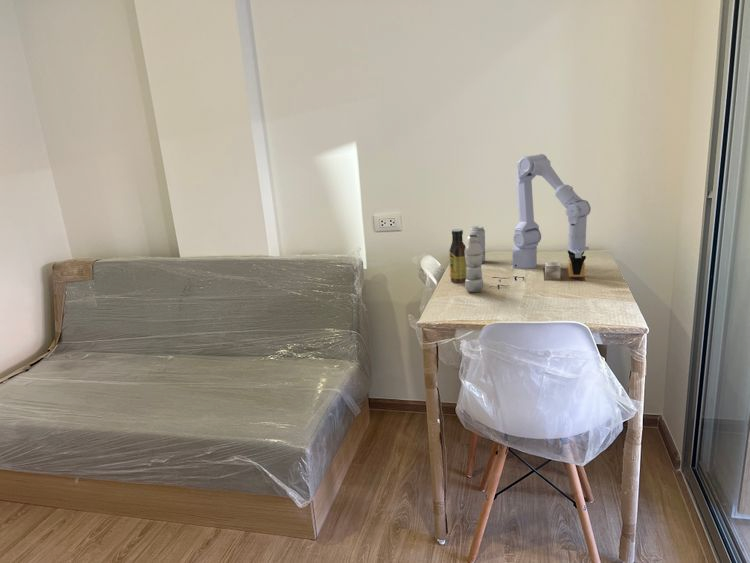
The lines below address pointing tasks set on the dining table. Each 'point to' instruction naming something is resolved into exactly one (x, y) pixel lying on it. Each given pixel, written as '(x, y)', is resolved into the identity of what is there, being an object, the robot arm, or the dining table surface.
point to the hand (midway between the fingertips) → (575, 272)
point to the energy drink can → (479, 237)
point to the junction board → (564, 276)
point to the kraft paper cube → (570, 270)
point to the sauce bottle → (457, 257)
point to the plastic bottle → (473, 264)
